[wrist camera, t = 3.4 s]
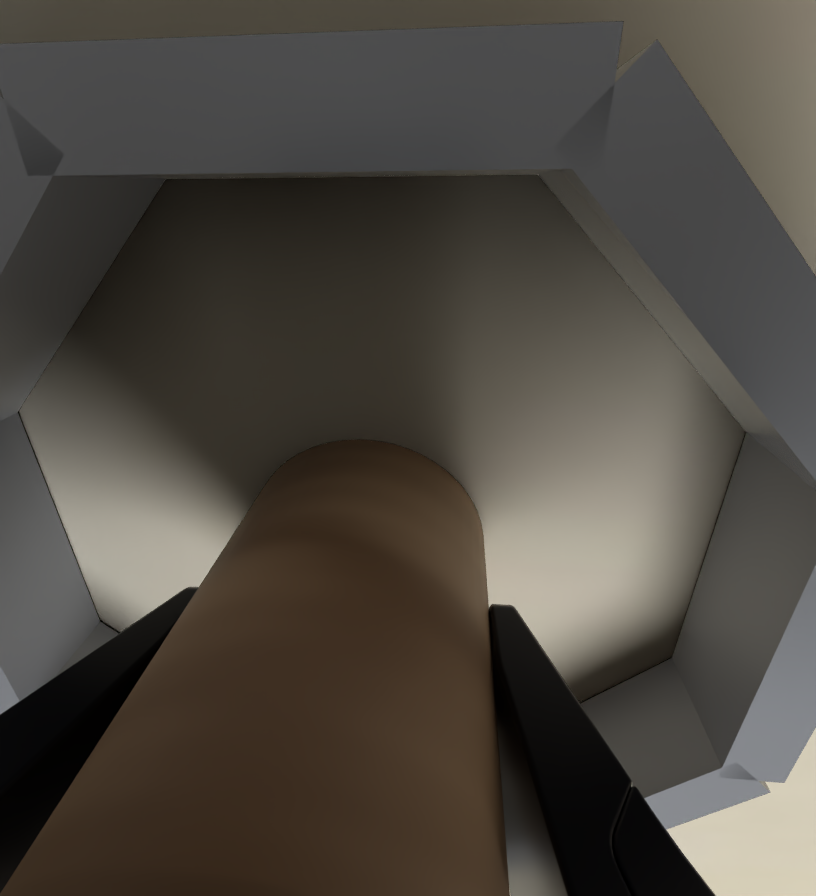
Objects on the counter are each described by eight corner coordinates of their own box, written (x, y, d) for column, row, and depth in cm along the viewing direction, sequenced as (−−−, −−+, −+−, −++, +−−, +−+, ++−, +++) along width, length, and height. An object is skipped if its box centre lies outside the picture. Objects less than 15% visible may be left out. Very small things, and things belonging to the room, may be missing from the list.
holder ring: (113, 747, 15) (55, 840, 13) (-179, 95, 8) (-429, 59, 6) (672, 794, 14) (713, 907, 12) (965, 64, 7) (1228, -1, 4)
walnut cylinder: (270, 620, 12) (81, 1058, 6) (237, 435, 10) (-123, 837, 4) (477, 632, 12) (498, 1117, 6) (491, 443, 10) (552, 910, 3)
